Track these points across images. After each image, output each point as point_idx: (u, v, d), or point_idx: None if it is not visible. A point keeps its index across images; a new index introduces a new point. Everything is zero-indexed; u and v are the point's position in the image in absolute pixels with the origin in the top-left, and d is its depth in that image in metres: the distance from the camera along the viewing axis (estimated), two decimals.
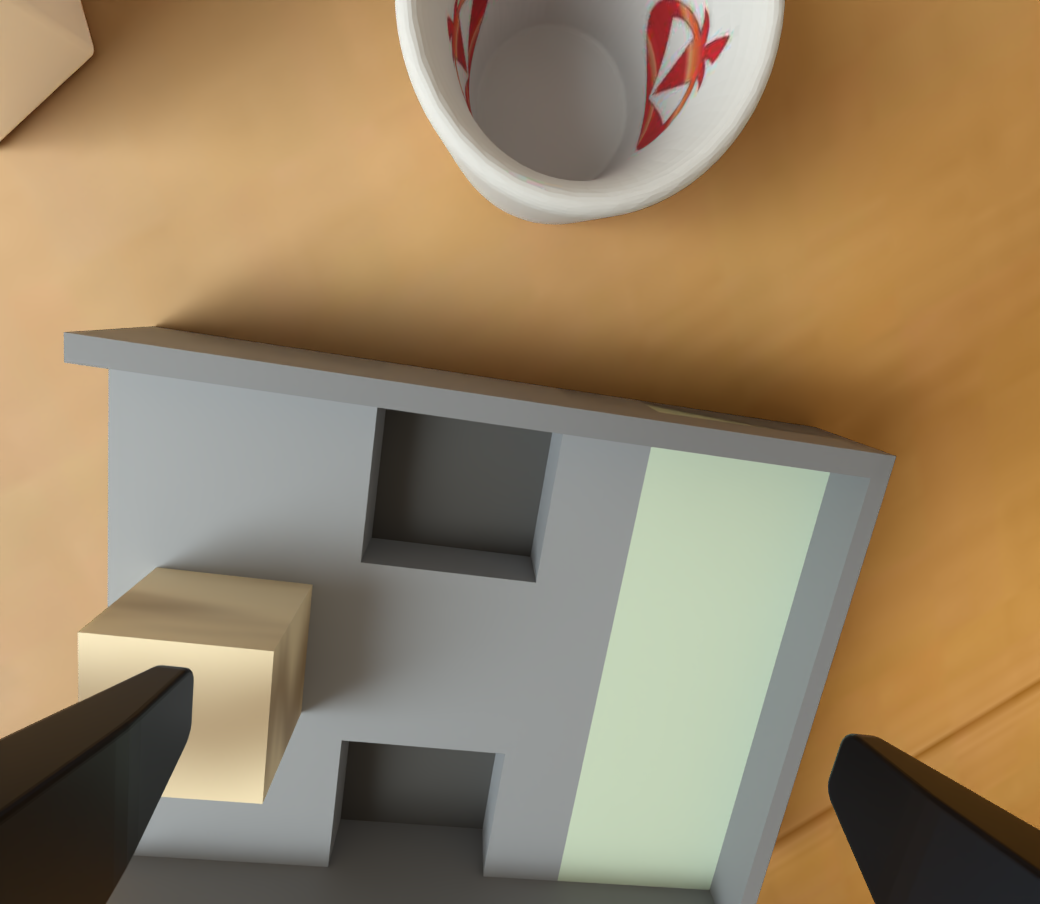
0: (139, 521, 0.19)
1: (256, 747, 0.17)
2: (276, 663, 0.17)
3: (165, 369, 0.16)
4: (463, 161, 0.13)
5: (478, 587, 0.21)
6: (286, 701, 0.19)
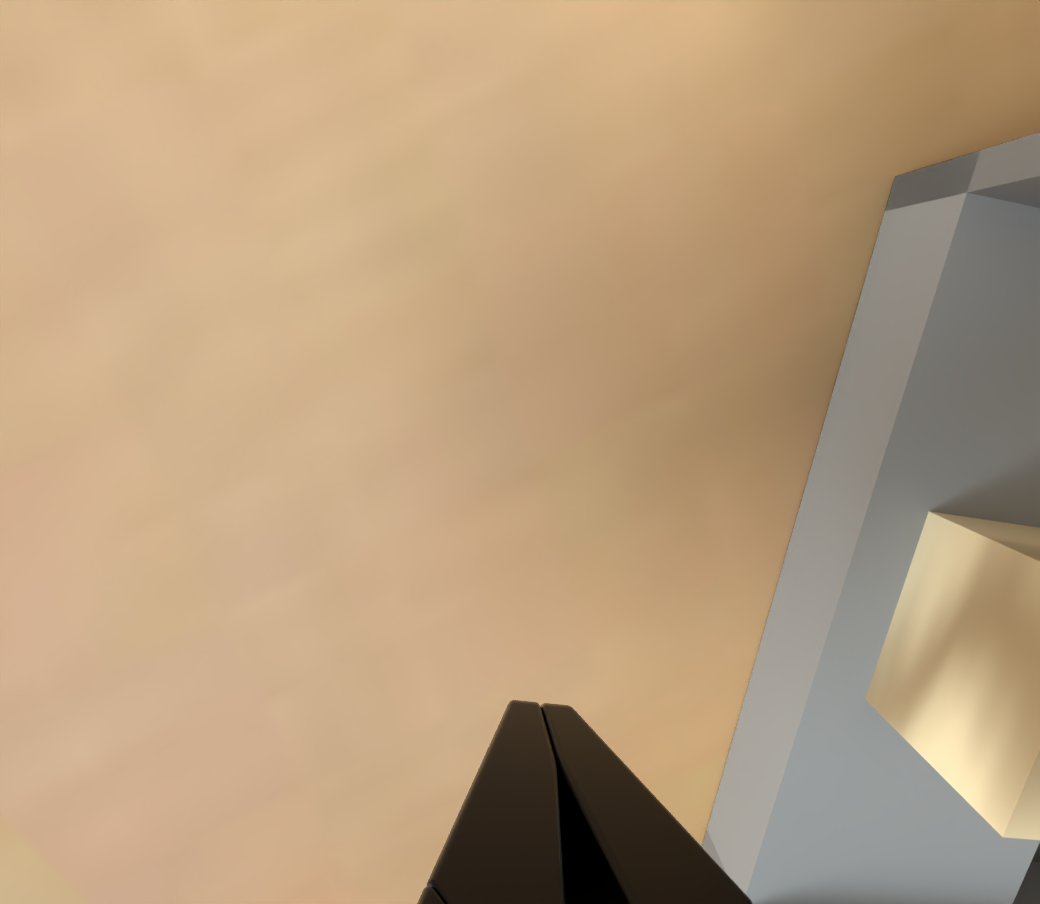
0: (928, 444, 0.13)
1: None
2: None
3: None
4: None
5: None
6: None
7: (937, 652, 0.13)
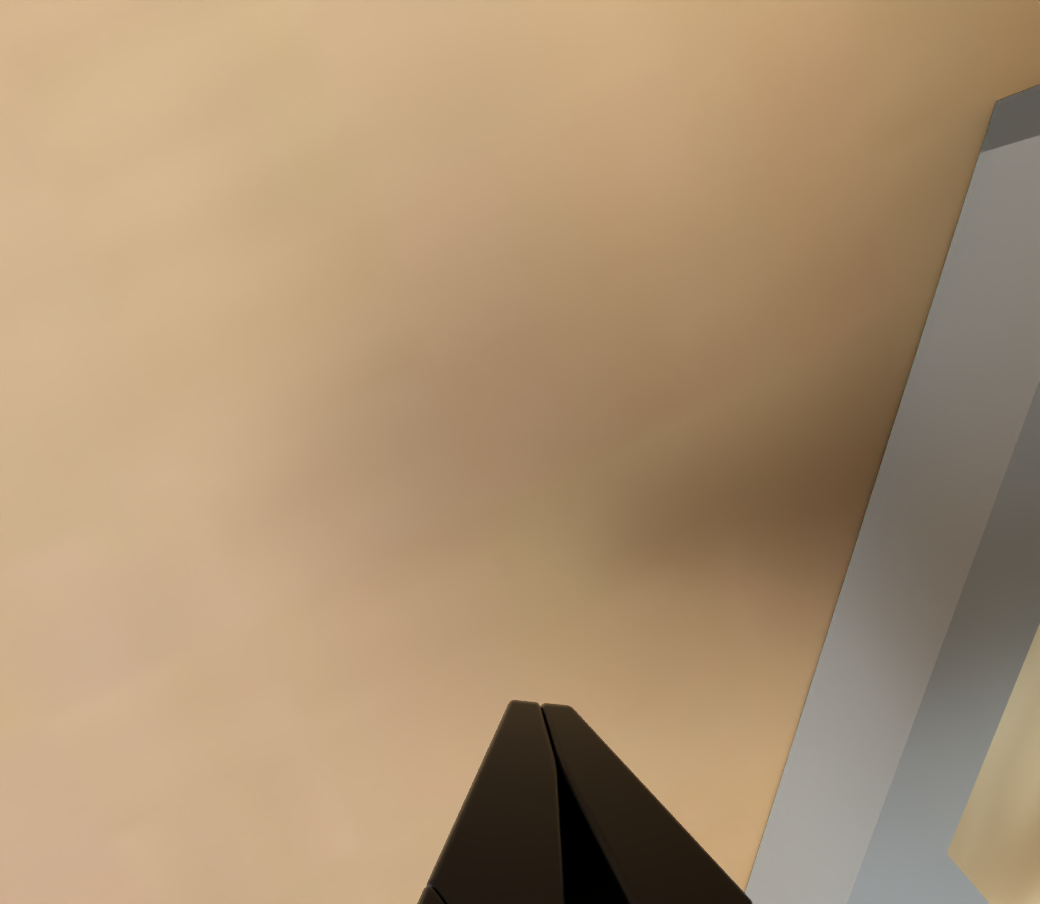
0: None
1: None
2: None
3: None
4: None
5: None
6: None
7: None
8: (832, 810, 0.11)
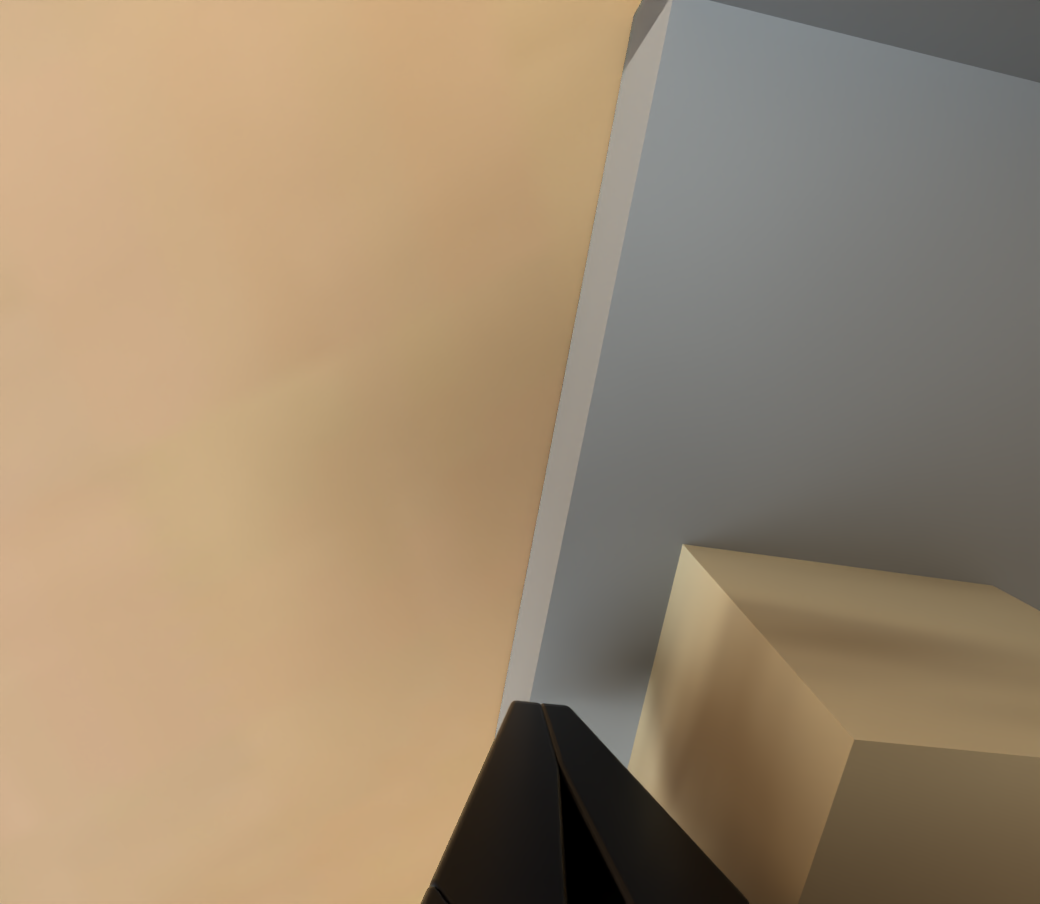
0: (653, 434, 0.08)
1: None
2: None
3: None
4: None
5: None
6: None
7: (672, 781, 0.08)
8: None
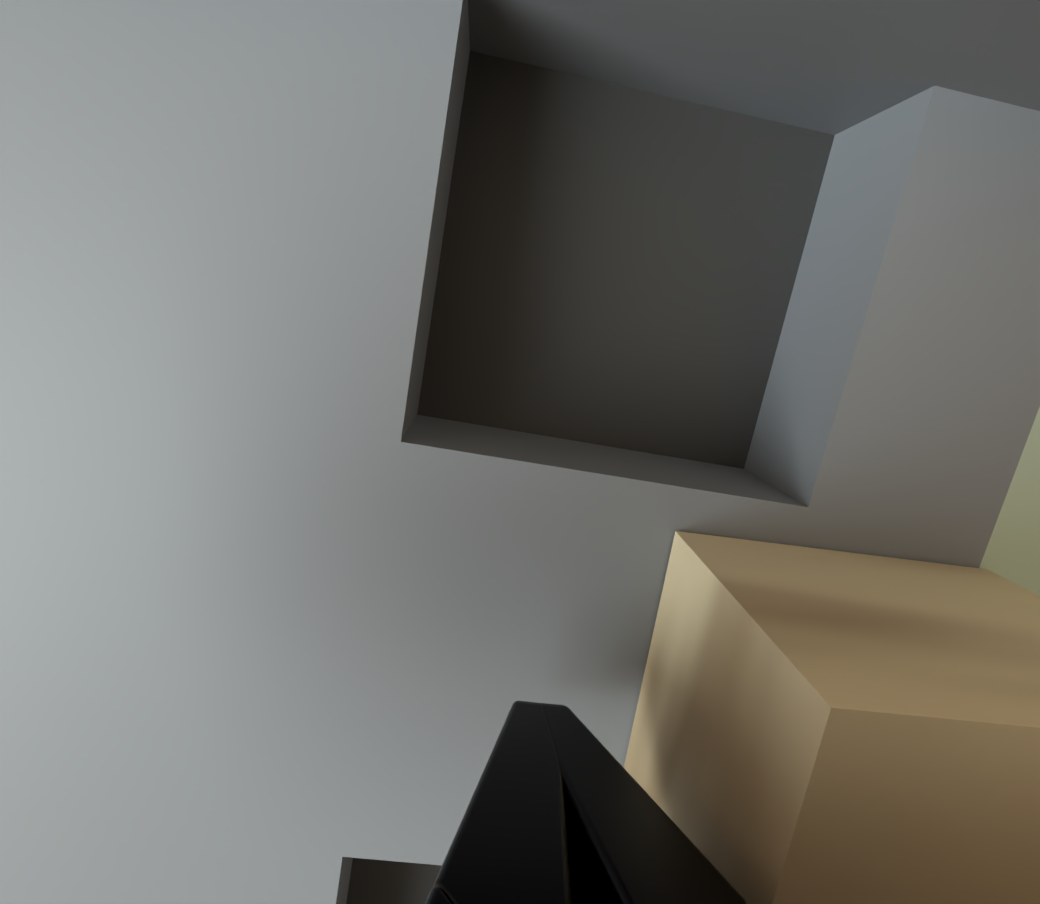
0: None
1: None
2: None
3: None
4: None
5: (674, 513, 0.09)
6: None
7: (667, 765, 0.08)
8: None
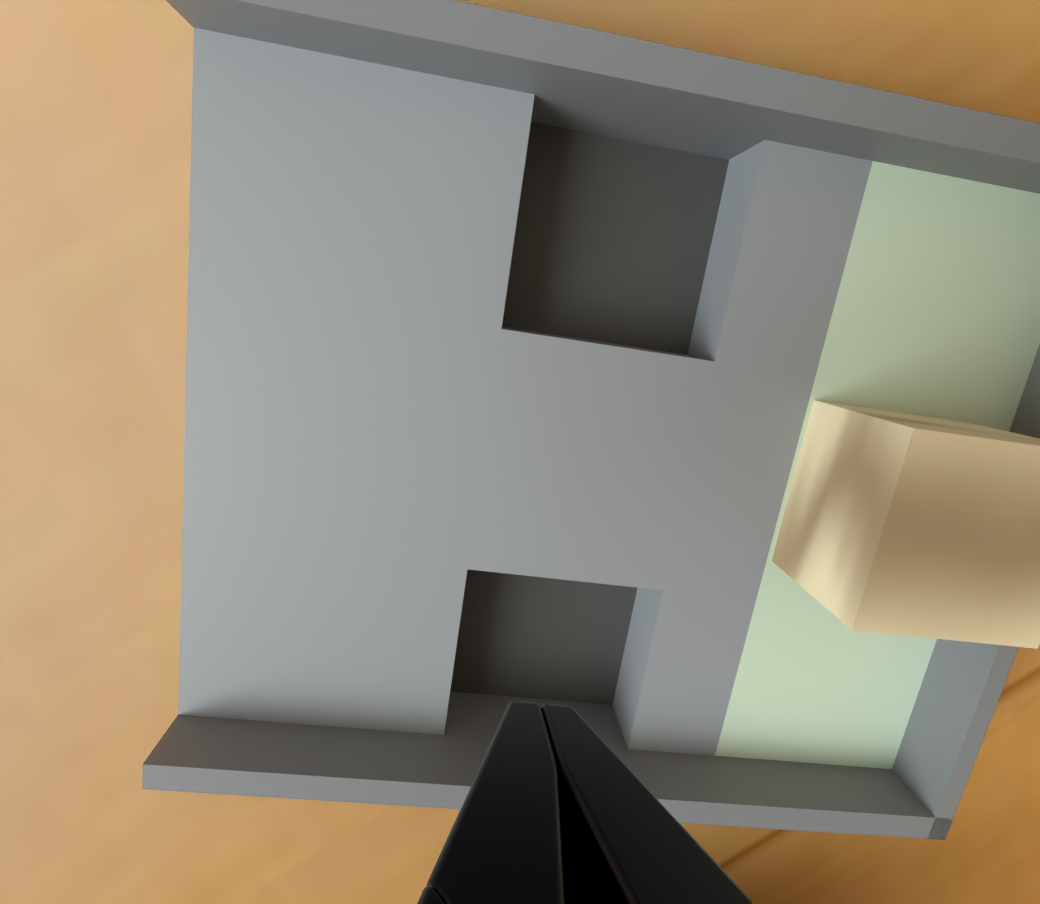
0: (227, 265, 0.15)
1: None
2: None
3: None
4: None
5: (643, 366, 0.16)
6: None
7: (817, 507, 0.16)
8: None
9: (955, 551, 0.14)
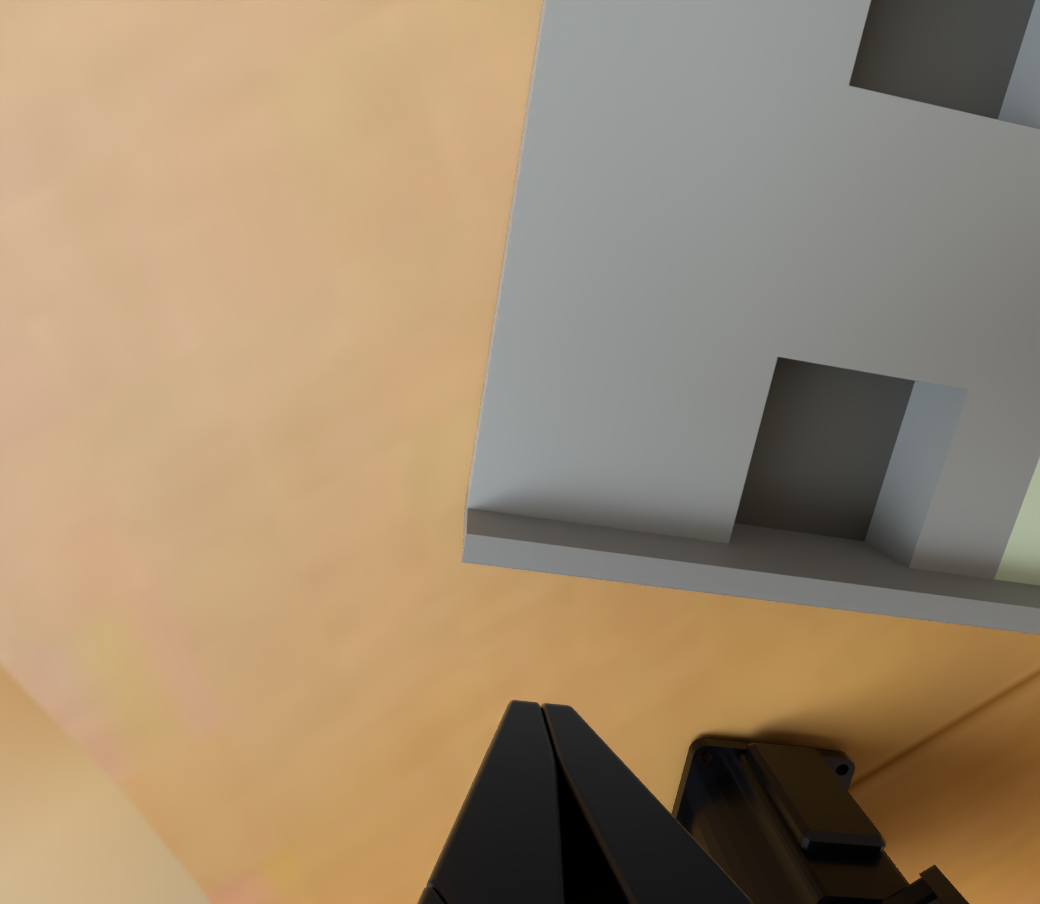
0: None
1: None
2: None
3: None
4: None
5: (984, 134, 0.16)
6: None
7: None
8: (502, 278, 0.17)
9: None
